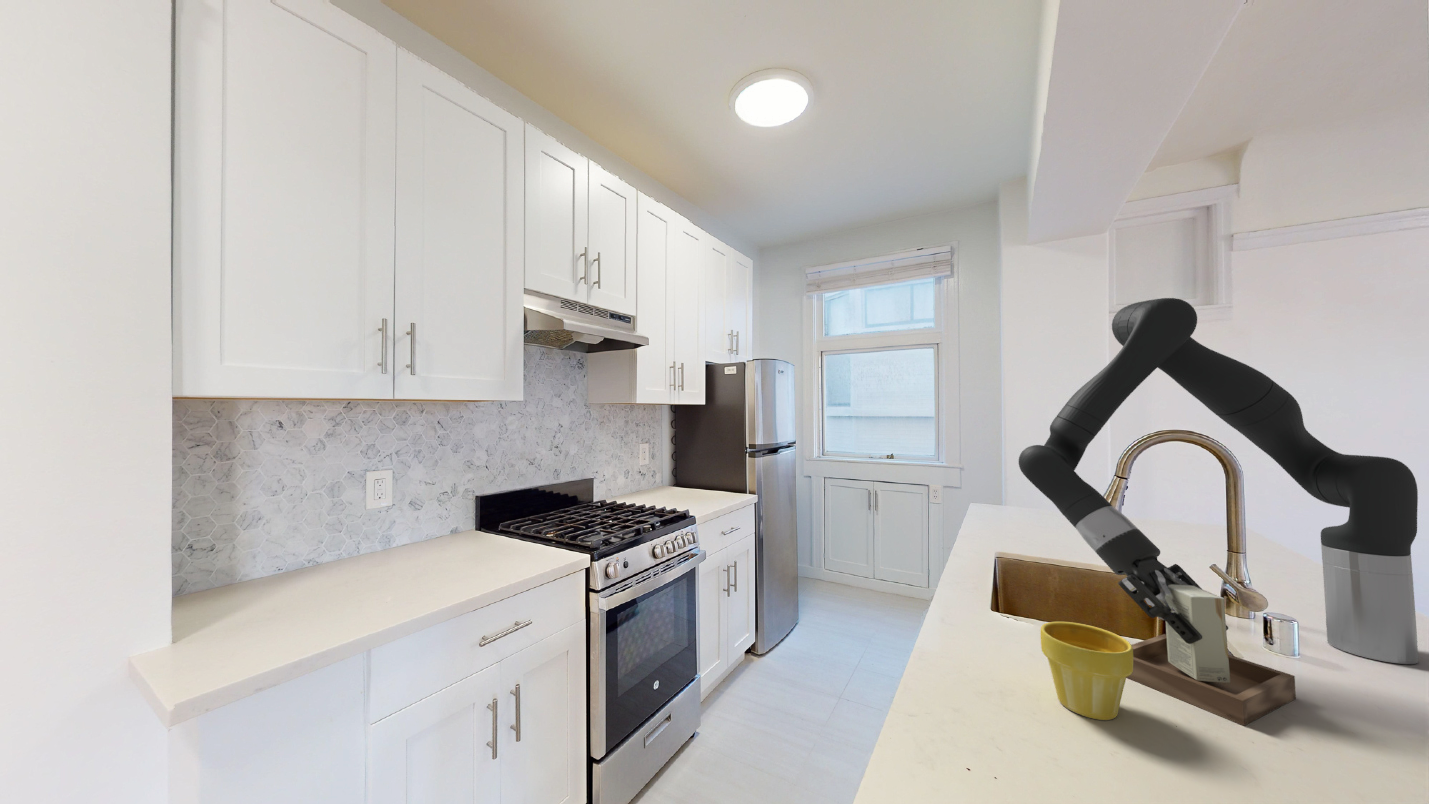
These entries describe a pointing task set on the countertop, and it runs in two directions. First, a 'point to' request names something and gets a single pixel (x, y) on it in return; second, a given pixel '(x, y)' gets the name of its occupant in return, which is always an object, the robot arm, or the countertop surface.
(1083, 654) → the plant pot
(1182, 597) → the skincare box
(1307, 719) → the countertop surface
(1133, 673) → the walnut tray
